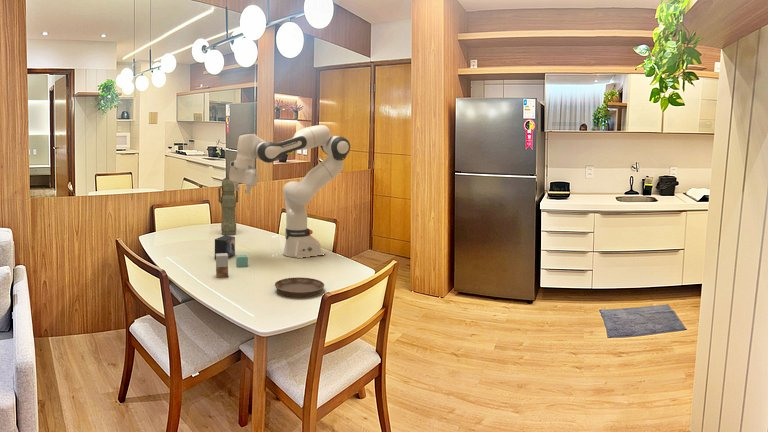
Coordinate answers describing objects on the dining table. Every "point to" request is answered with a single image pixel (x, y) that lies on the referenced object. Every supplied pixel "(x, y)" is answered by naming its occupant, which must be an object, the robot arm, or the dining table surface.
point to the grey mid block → (222, 260)
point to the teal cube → (241, 260)
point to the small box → (225, 245)
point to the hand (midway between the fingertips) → (241, 192)
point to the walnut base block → (221, 272)
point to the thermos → (228, 207)
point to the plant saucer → (299, 286)
